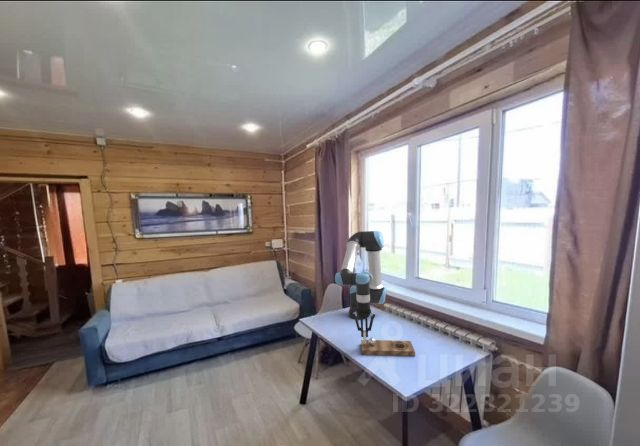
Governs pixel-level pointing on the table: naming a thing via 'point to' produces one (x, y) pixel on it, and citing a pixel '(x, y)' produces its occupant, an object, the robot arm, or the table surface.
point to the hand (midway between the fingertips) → (364, 342)
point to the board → (388, 348)
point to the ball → (372, 341)
